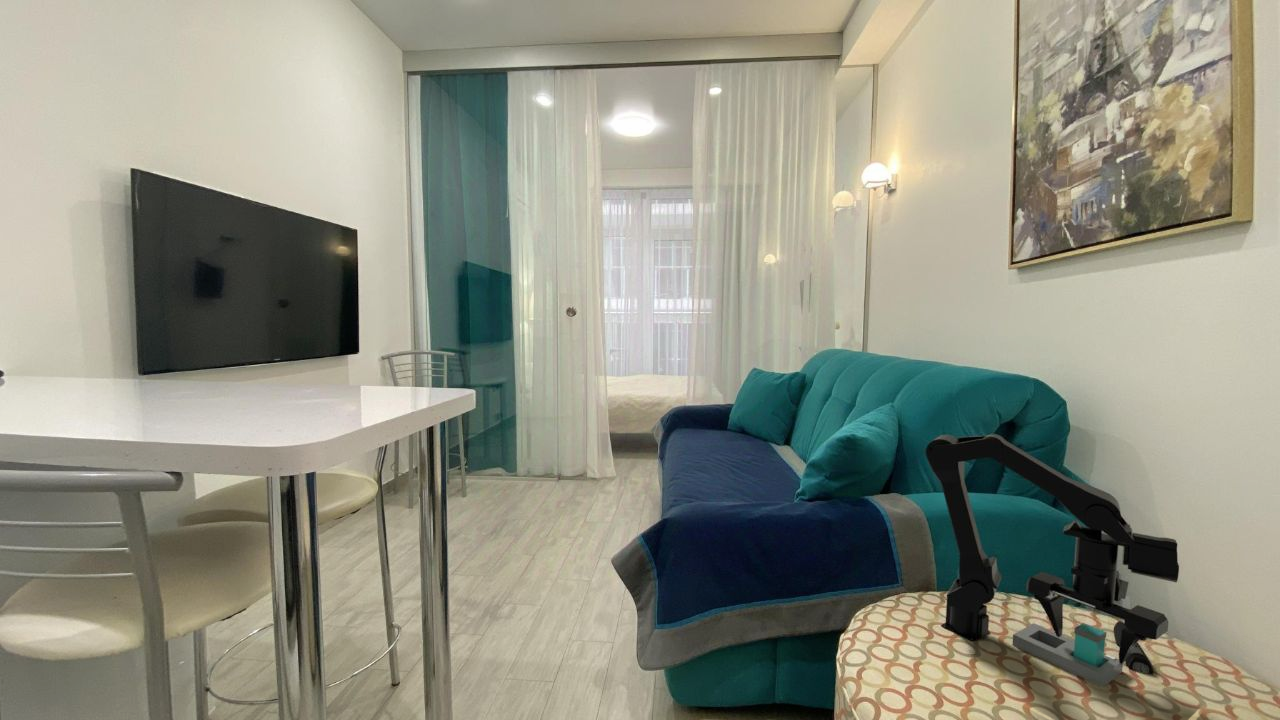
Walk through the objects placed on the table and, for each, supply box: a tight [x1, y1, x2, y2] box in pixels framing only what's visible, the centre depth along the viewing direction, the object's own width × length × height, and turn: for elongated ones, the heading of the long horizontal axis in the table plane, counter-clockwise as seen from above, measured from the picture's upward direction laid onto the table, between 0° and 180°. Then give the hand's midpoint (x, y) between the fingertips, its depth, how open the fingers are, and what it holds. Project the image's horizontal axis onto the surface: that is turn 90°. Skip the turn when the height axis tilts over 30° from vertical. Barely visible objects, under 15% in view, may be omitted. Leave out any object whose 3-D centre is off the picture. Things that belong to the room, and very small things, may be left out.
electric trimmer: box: [1113, 621, 1154, 676], centre depth 103 cm, size 4×16×3 cm, turn 149°
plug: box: [1074, 622, 1107, 668], centre depth 98 cm, size 3×3×7 cm
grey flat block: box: [1011, 623, 1124, 687], centre depth 101 cm, size 14×8×3 cm, turn 31°
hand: (1089, 649), depth 98 cm, fingers open, 9 cm apart
